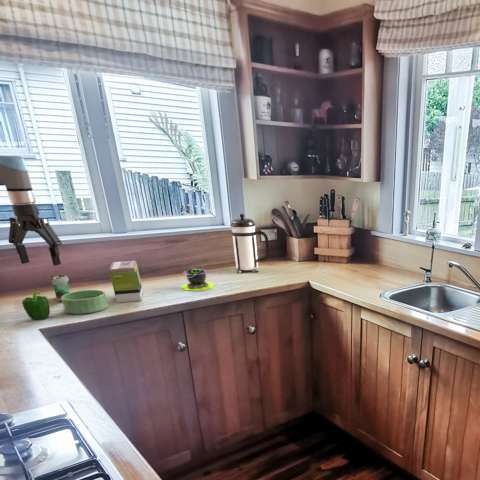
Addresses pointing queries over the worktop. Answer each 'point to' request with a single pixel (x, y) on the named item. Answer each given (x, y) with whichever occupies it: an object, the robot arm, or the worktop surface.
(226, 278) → the worktop surface
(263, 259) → the coffee press
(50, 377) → the worktop surface
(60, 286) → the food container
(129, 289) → the tea box
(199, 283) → the toy cauldron
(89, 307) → the bowl
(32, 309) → the bell pepper
